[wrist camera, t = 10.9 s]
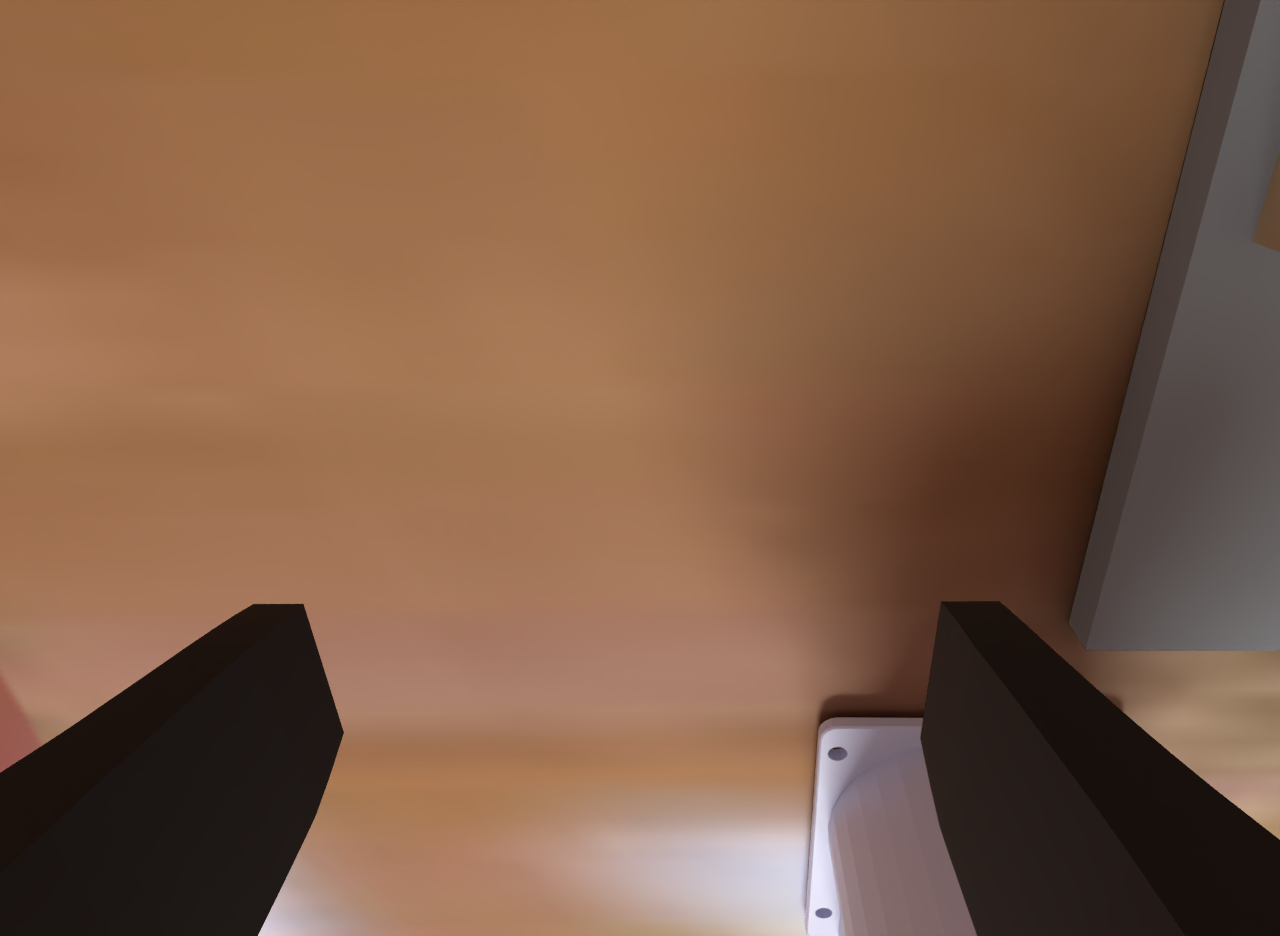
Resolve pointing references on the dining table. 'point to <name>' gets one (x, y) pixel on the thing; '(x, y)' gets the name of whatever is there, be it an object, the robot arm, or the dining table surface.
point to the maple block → (1270, 214)
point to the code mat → (1202, 392)
